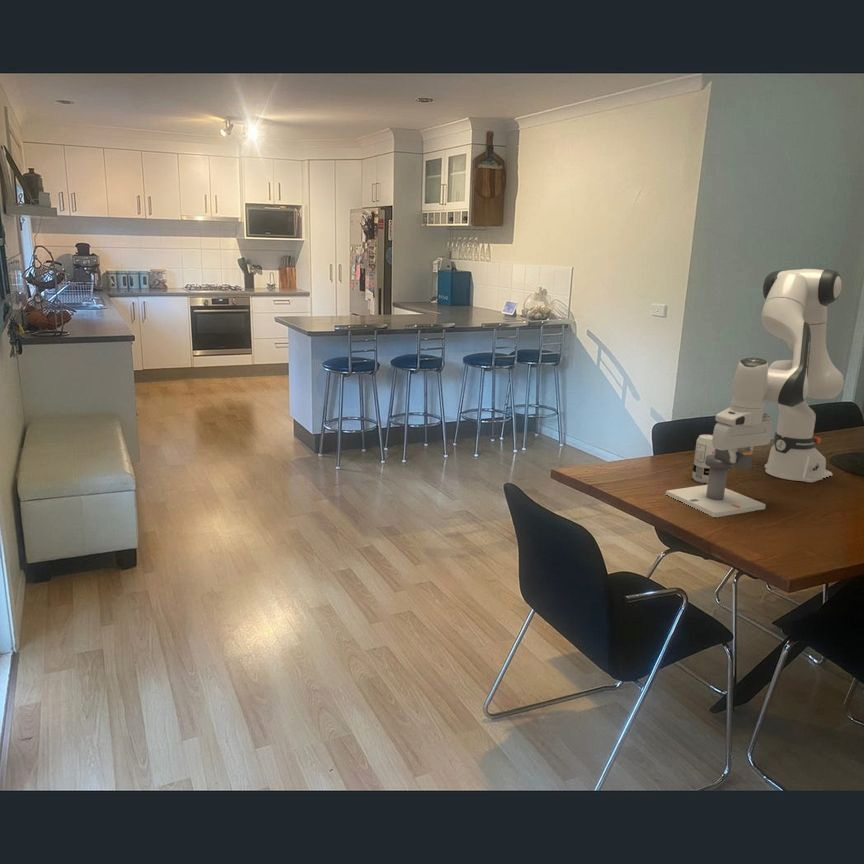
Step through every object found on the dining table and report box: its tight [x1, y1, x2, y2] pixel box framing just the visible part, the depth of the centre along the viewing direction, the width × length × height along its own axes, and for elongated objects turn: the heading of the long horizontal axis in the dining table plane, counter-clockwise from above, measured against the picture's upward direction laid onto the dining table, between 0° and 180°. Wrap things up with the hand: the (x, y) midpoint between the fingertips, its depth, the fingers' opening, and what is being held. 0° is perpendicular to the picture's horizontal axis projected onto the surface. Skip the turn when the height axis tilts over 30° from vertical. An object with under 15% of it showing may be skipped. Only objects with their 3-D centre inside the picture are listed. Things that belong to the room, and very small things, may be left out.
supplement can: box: [691, 434, 716, 485], centre depth 232 cm, size 8×8×15 cm
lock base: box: [665, 467, 767, 518], centre depth 212 cm, size 20×20×12 cm
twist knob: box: [705, 449, 754, 470], centre depth 207 cm, size 14×8×7 cm, turn 22°
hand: (739, 461), depth 203 cm, fingers open, 3 cm apart
